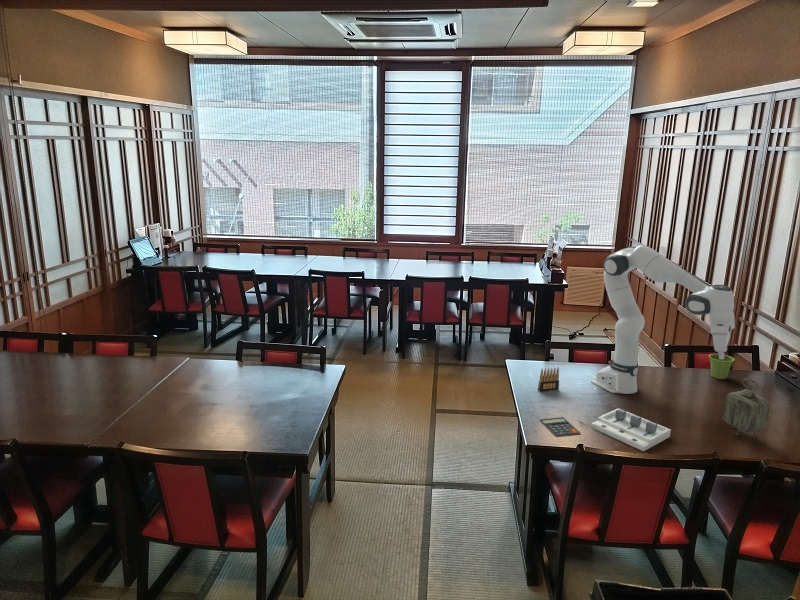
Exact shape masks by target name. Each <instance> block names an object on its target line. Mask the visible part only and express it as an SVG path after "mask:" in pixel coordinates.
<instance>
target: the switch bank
mask: <svg viewBox="0 0 800 600" xmlns="http://www.w3.org/2000/svg"><path fill="white" fill-rule="evenodd" d="M618 409H621V408H620V407H618V408H616V409H614V410H613V409H612V411H609V412H607V413H604V414H602V415H600V416H598V417H597V420H595V421H593V422H592V423H591V426H590V427H591V428H592V429H594V430H596V431H597V432H601V433H602V434H605V435H606V436H609V437H611V438H613V439H616V440H618V441H620V442H622V443H624V444H627V445H629V446H630V447H632V448H635V449H637V450H639V451H642V452H645V451H647V450H648V449H650V448H652V447H654V446H656V445H658V444H659V443H661V442H664V441H665V440H666V439H669V438H670V437H671V431H672V429H670V428H668V427H666V426H663V425H661V424H658V423H657V430H656V432H655V433H653V434H651V433H649V432H647V431H645V429H646V423H648V421H650V420H648V419H646V418H644V417H642V418H641V425H640V426H638V427H635V426H633V425H630V419H631V416H633V415H635V414H634V413H631V412H629V411H627V410H625V411H626V419H624V420H622V421H621V420H619V419H616V418H615V415H616V410H618Z"/></svg>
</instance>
